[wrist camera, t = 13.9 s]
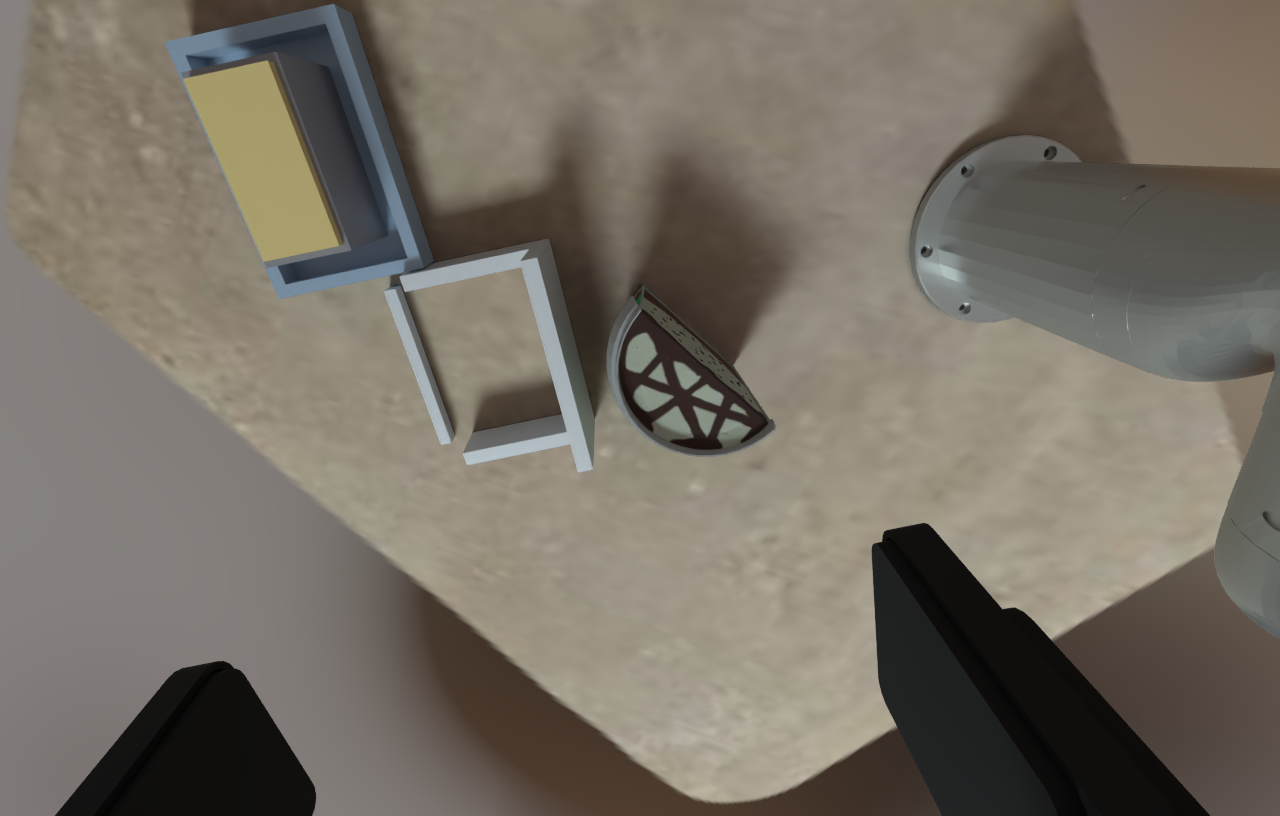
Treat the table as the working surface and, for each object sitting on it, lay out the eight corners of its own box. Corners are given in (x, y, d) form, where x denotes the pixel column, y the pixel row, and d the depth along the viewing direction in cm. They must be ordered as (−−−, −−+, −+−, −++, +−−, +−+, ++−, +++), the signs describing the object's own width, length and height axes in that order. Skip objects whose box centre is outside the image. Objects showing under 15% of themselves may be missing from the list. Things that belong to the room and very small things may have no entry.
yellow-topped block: (328, 67, 36) (269, 49, 30) (388, 235, 40) (347, 251, 34) (249, 84, 36) (173, 71, 30) (315, 250, 40) (261, 270, 34)
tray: (351, 13, 36) (333, 3, 33) (434, 261, 42) (424, 268, 39) (193, 49, 36) (164, 42, 34) (297, 290, 42) (278, 299, 40)
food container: (571, 333, 44) (562, 381, 35) (627, 269, 43) (633, 303, 34) (691, 432, 48) (711, 499, 39) (746, 377, 46) (781, 434, 37)
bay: (549, 238, 42) (537, 257, 34) (594, 419, 47) (593, 469, 40) (384, 273, 42) (337, 300, 35) (449, 449, 47) (420, 504, 40)
